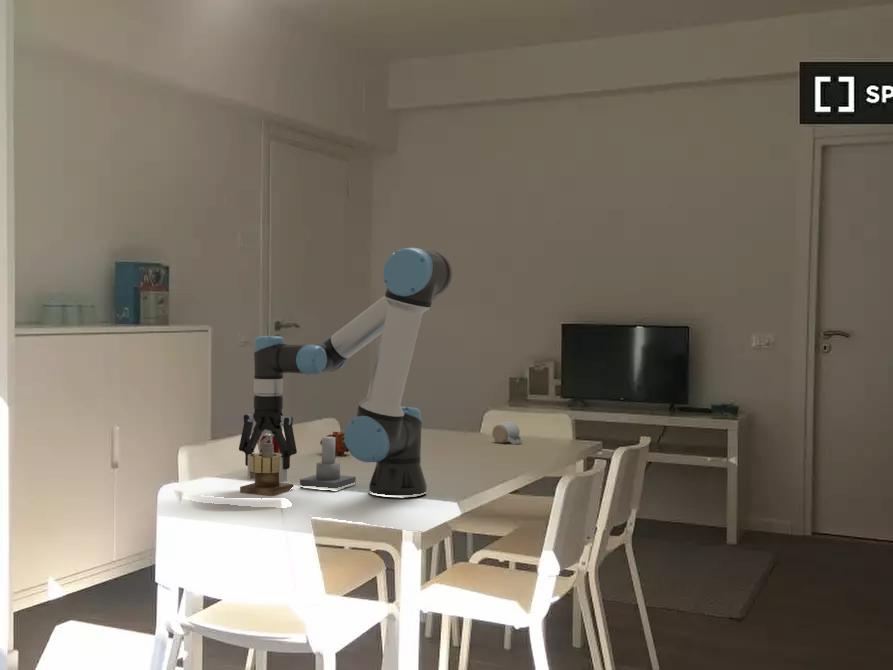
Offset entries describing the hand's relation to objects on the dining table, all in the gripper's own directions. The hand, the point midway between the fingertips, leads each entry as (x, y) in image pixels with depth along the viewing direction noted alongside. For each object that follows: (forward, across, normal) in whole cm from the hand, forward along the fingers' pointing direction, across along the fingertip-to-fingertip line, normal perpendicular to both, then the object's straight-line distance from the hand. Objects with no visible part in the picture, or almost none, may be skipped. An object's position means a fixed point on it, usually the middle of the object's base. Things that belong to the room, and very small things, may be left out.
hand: (267, 479), depth 257 cm
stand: (+3, 0, 0) cm, 3 cm away
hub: (+3, -11, -13) cm, 17 cm away
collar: (-3, 0, 0) cm, 3 cm away
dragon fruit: (+3, +16, -66) cm, 68 cm away
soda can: (+3, +12, -21) cm, 24 cm away
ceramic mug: (+3, -25, -124) cm, 126 cm away
